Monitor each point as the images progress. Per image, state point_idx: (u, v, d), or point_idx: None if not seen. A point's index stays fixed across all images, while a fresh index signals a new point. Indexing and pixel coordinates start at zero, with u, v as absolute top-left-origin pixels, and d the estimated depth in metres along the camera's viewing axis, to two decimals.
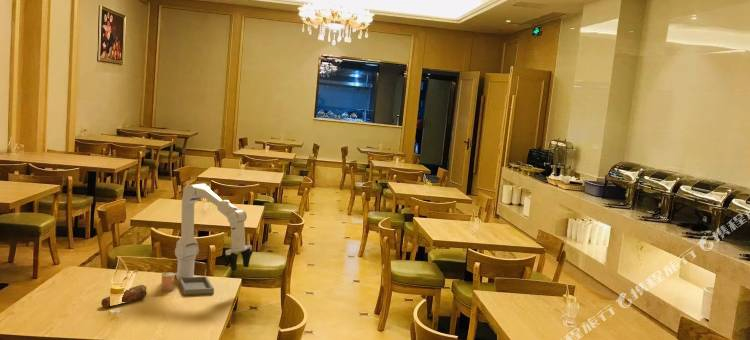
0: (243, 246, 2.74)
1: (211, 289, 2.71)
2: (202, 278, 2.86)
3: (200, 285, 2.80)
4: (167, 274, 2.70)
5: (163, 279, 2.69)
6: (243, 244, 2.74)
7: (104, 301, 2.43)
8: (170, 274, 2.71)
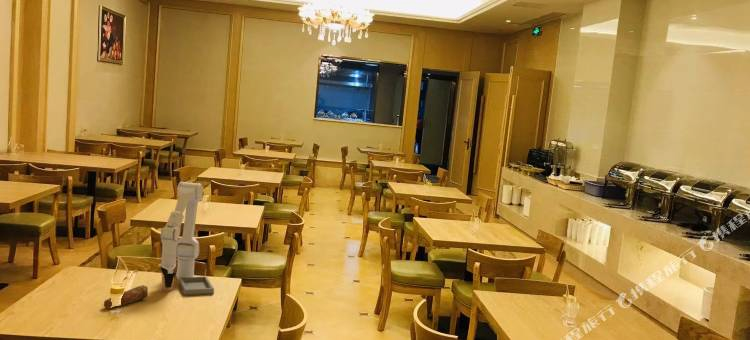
0: None
1: (211, 289, 2.71)
2: (202, 278, 2.86)
3: (200, 285, 2.80)
4: None
5: (163, 278, 2.69)
6: None
7: (107, 302, 2.42)
8: None
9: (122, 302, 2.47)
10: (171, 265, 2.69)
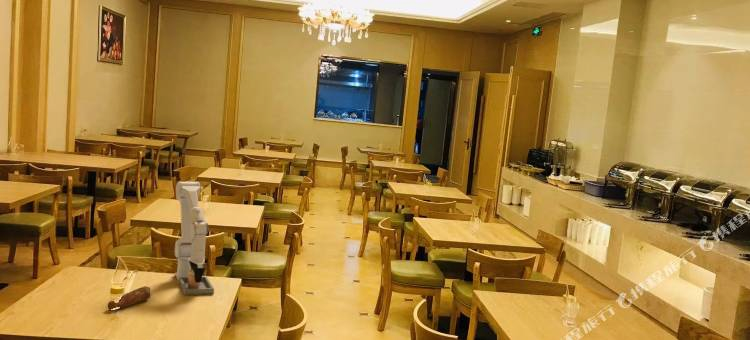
0: (191, 257, 2.74)
1: (211, 289, 2.71)
2: (202, 278, 2.86)
3: (200, 285, 2.80)
4: None
5: (191, 276, 2.73)
6: (191, 255, 2.74)
7: (111, 304, 2.41)
8: None
9: (126, 303, 2.46)
10: (200, 260, 2.73)
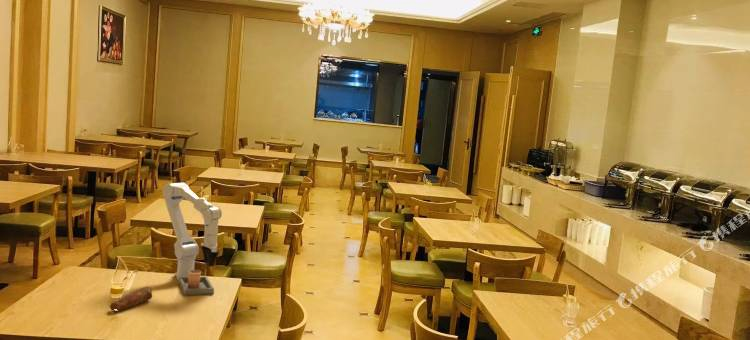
0: (204, 242, 2.81)
1: (211, 289, 2.71)
2: (202, 278, 2.86)
3: (200, 285, 2.80)
4: (194, 272, 2.75)
5: (191, 276, 2.74)
6: (204, 240, 2.81)
7: (114, 305, 2.40)
8: (197, 272, 2.75)
9: (128, 304, 2.45)
10: (213, 244, 2.80)
